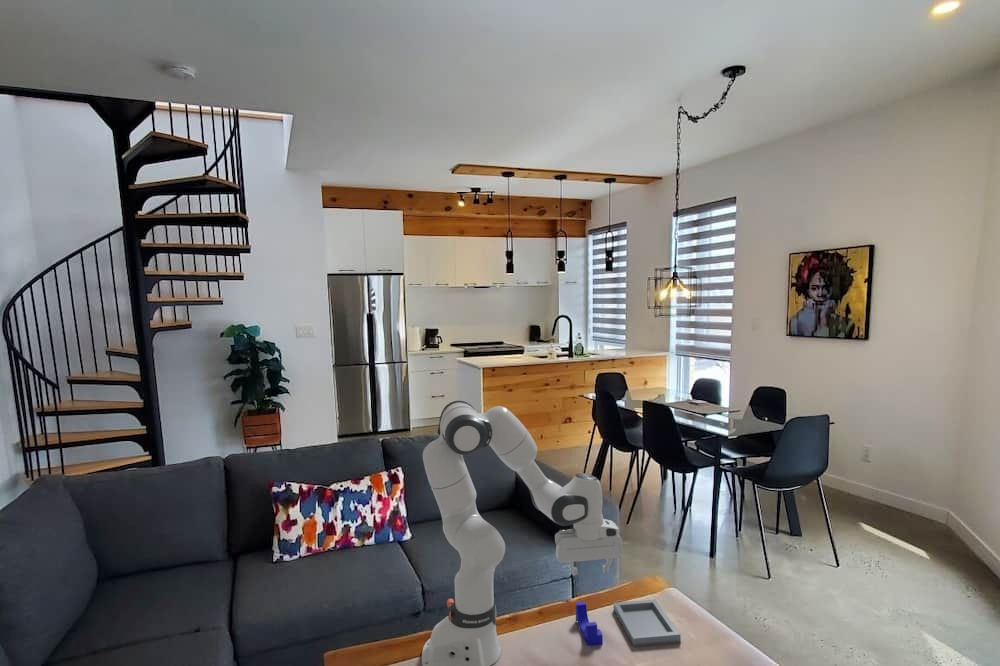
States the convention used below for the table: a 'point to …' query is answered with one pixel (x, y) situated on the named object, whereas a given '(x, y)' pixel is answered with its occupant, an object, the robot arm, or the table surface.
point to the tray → (646, 623)
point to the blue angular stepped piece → (587, 626)
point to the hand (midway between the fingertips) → (590, 573)
